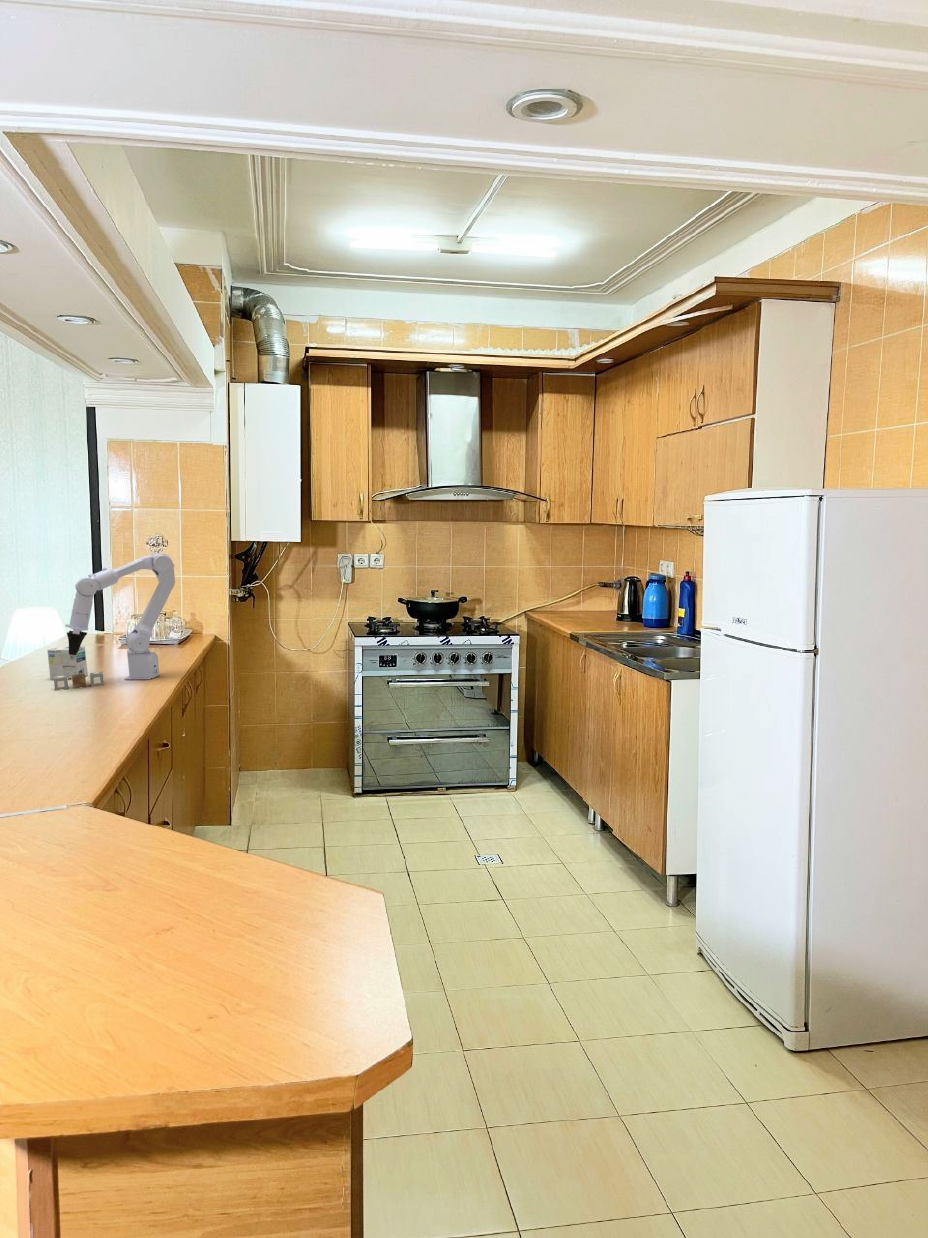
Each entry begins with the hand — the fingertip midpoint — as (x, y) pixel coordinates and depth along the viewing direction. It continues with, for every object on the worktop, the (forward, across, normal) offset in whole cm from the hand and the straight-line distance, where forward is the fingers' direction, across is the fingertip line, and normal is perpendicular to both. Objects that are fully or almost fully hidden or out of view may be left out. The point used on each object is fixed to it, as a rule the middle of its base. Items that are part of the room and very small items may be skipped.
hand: (73, 653), depth 296 cm
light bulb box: (+11, -18, -1) cm, 21 cm away
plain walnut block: (+10, +2, +4) cm, 11 cm away
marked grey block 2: (+9, +1, +9) cm, 13 cm away
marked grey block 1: (+12, +2, -1) cm, 12 cm away
